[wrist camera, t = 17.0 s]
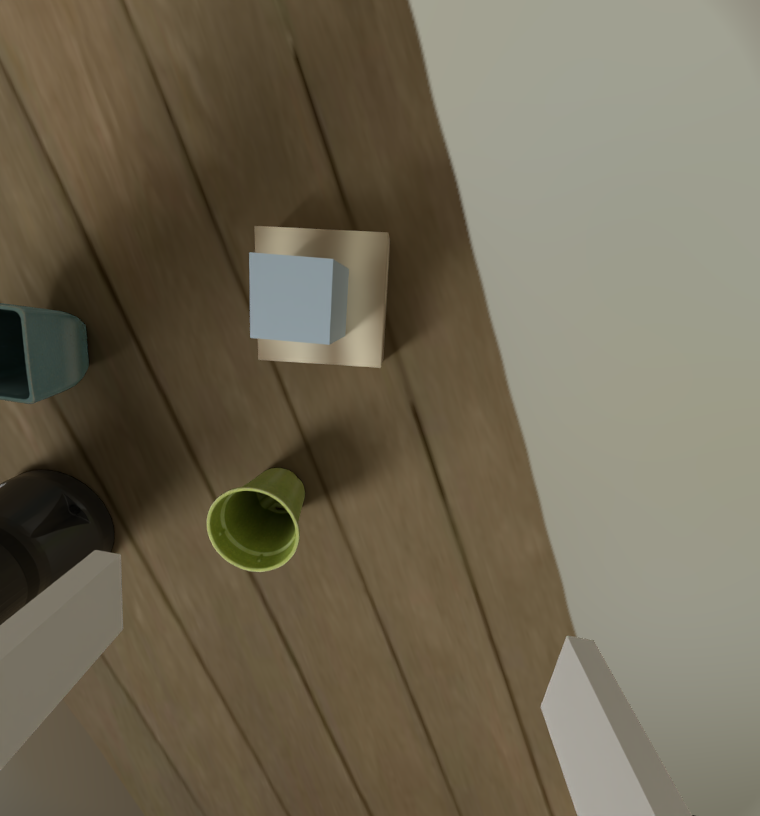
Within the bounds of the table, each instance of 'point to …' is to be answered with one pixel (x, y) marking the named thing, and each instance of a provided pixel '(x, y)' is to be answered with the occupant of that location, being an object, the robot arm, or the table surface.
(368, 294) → the birch block
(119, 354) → the table surface
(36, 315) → the flower pot
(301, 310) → the slate blue block
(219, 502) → the plant pot
